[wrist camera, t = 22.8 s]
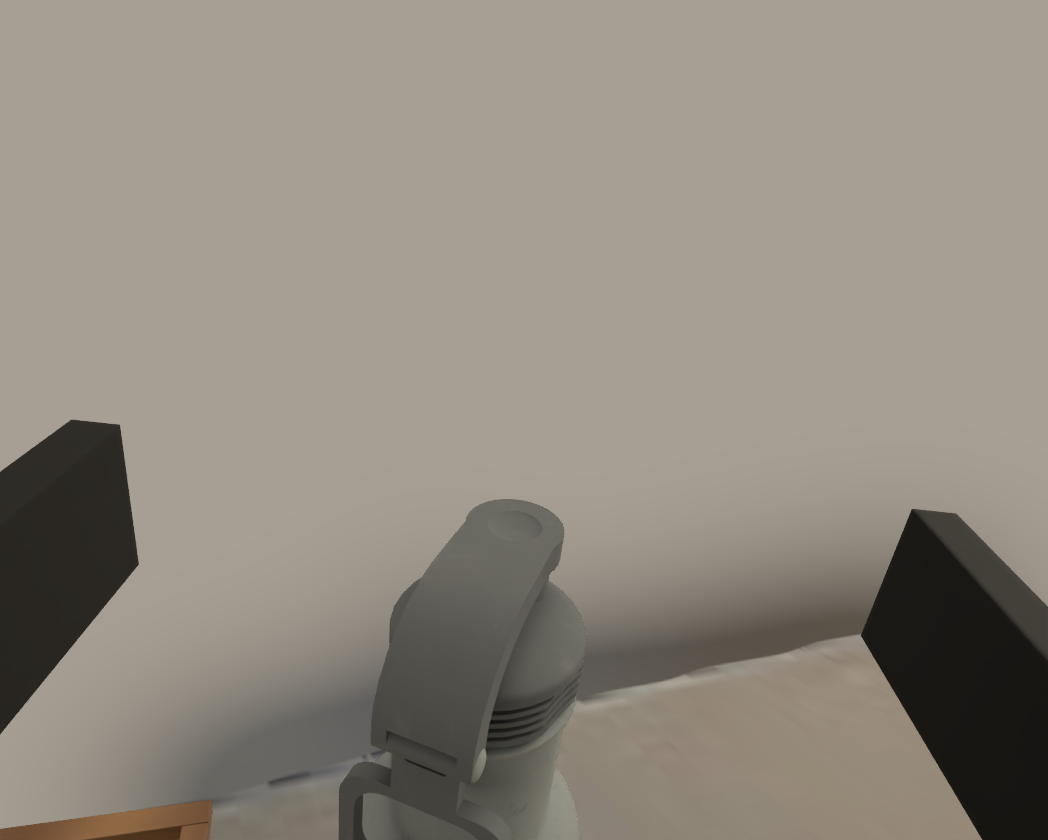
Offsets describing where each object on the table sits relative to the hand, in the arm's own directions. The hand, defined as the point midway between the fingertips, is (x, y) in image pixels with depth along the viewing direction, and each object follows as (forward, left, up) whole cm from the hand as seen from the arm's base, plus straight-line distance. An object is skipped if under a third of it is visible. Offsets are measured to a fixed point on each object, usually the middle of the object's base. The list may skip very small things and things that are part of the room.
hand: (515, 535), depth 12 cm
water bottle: (-2, -9, -36) cm, 37 cm away
